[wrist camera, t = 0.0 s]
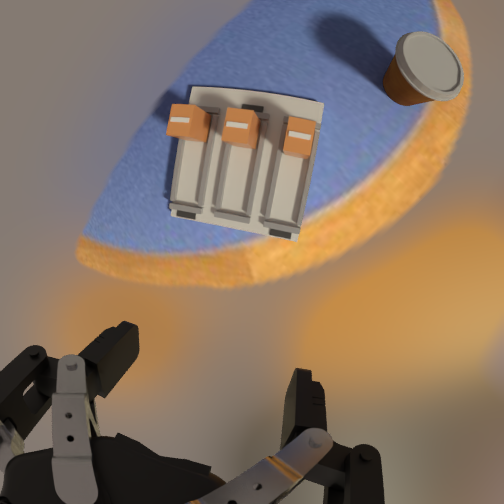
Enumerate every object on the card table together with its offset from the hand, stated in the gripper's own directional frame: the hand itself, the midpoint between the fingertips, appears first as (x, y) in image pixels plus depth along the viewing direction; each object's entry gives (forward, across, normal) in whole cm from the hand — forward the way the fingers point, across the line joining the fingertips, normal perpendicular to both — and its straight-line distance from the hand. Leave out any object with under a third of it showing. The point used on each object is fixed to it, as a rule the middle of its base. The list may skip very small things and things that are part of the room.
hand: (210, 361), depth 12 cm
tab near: (+28, -2, -14) cm, 31 cm away
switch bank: (+29, +5, -10) cm, 31 cm away
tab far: (+28, +12, -14) cm, 33 cm away
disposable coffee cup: (+30, -16, -27) cm, 43 cm away
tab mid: (+28, +5, -14) cm, 31 cm away
